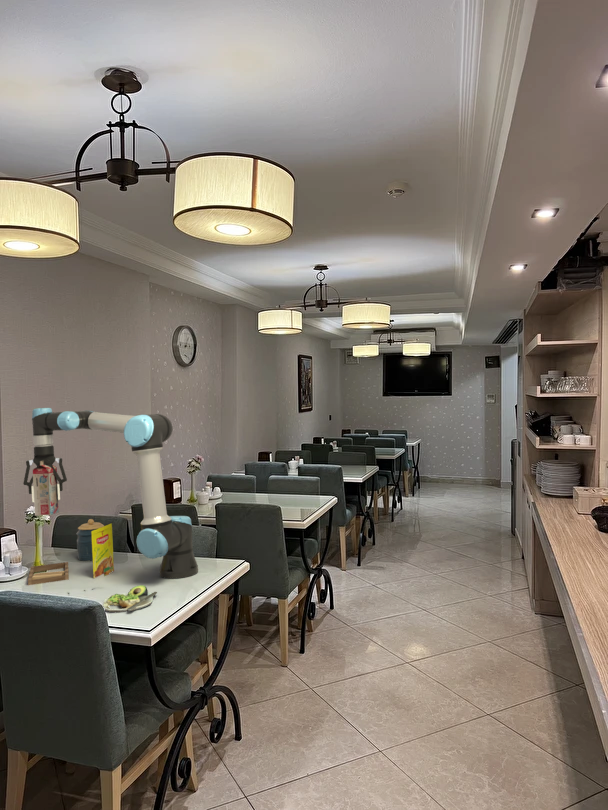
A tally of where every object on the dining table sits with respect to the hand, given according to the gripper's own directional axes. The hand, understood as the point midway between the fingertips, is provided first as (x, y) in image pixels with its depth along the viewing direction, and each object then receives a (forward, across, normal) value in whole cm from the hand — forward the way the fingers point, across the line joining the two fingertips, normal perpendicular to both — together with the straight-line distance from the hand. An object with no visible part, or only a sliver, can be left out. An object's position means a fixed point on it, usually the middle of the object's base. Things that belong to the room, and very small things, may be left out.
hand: (46, 500), depth 242 cm
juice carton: (+6, 0, 0) cm, 6 cm away
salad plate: (+32, -26, +52) cm, 66 cm away
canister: (+31, -17, -24) cm, 43 cm away
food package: (+32, -20, +12) cm, 39 cm away
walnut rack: (+31, 0, +4) cm, 31 cm away
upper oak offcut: (+30, 0, +9) cm, 31 cm away
